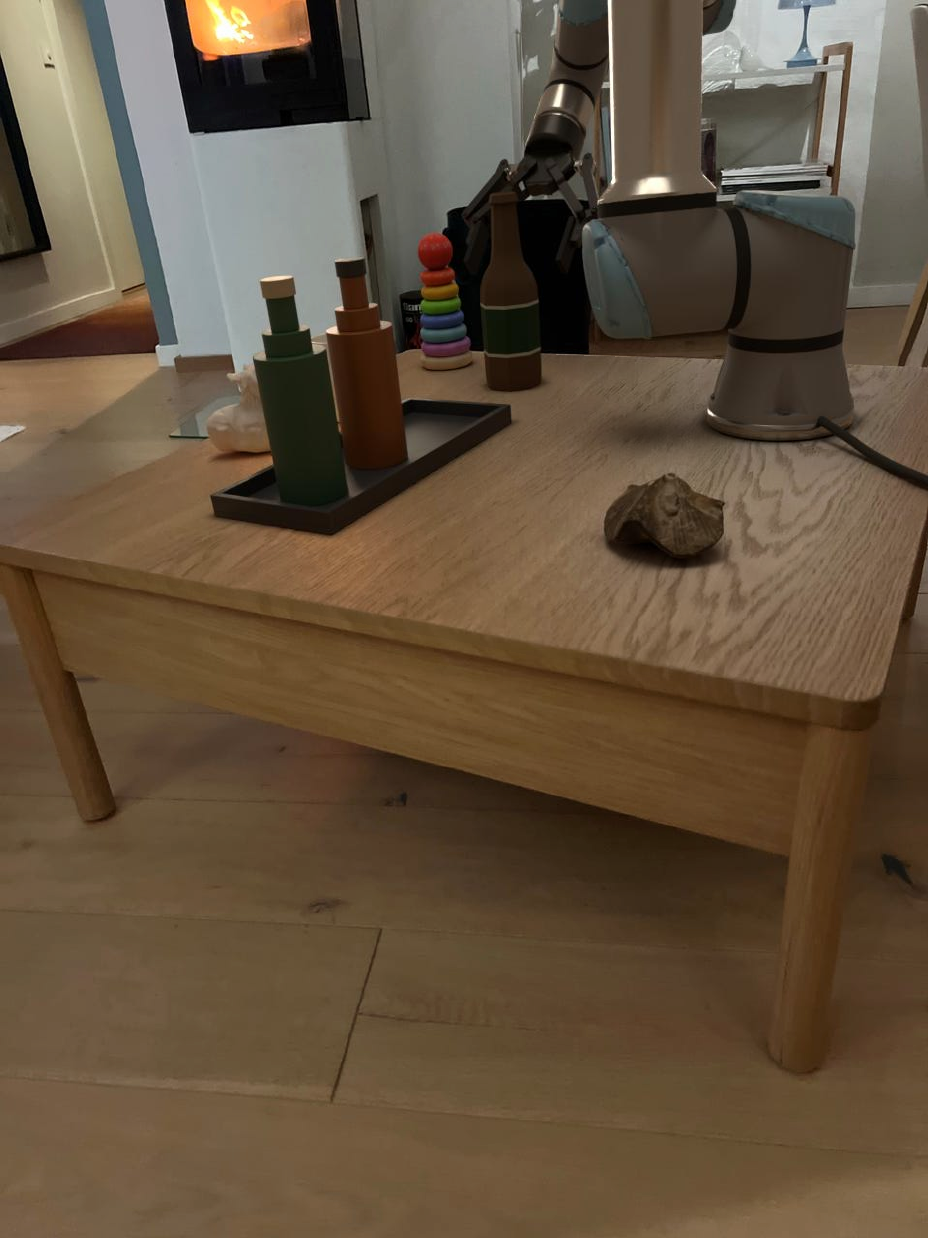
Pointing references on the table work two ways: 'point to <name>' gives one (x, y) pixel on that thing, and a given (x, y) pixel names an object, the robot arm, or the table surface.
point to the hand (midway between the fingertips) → (514, 267)
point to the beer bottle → (509, 305)
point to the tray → (430, 444)
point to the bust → (241, 418)
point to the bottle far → (298, 403)
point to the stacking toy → (441, 308)
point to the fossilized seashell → (666, 517)
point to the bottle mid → (365, 375)
